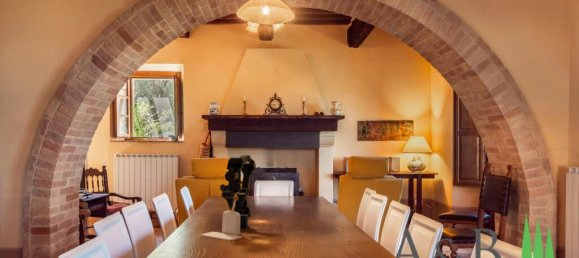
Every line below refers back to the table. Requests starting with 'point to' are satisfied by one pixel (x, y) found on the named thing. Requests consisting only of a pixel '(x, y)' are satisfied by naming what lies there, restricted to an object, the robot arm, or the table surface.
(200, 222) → the table surface
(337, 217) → the table surface
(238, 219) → the photo printer
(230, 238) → the beige flat sheet
